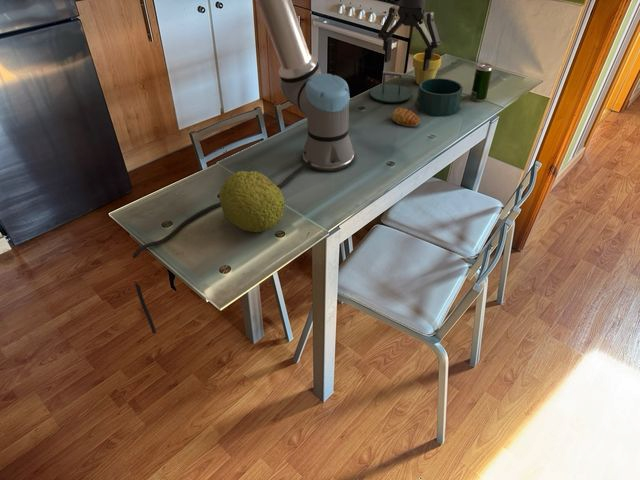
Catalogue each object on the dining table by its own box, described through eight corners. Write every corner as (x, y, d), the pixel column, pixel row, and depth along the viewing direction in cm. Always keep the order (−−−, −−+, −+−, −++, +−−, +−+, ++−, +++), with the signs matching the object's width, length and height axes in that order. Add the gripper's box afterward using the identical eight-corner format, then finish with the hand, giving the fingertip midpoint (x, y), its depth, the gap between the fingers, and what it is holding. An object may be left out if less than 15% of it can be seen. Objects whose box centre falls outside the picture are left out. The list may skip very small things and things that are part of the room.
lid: (407, 106, 165) (409, 82, 160) (365, 101, 169) (366, 77, 164) (415, 90, 176) (418, 66, 171) (375, 85, 180) (377, 62, 175)
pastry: (423, 123, 155) (425, 112, 153) (411, 130, 152) (412, 119, 149) (401, 114, 160) (402, 104, 158) (388, 121, 157) (389, 110, 154)
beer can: (479, 103, 166) (486, 69, 158) (467, 98, 169) (473, 65, 162) (489, 99, 168) (496, 65, 161) (477, 94, 172) (483, 61, 164)
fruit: (298, 212, 119) (295, 184, 105) (262, 254, 115) (254, 231, 101) (250, 177, 123) (241, 146, 109) (213, 217, 119) (198, 190, 105)
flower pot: (422, 75, 187) (425, 50, 181) (443, 82, 181) (447, 56, 175) (405, 82, 182) (407, 56, 176) (425, 89, 176) (428, 63, 170)
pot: (455, 118, 157) (459, 97, 152) (413, 113, 161) (415, 92, 156) (461, 101, 168) (464, 80, 163) (421, 96, 172) (423, 76, 167)
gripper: (459, -7, 132) (447, 69, 145) (382, -16, 143) (378, 54, 157) (448, -1, 127) (437, 76, 141) (369, -11, 139) (366, 61, 152)
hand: (406, 65), depth 149 cm, fingers open, 13 cm apart
